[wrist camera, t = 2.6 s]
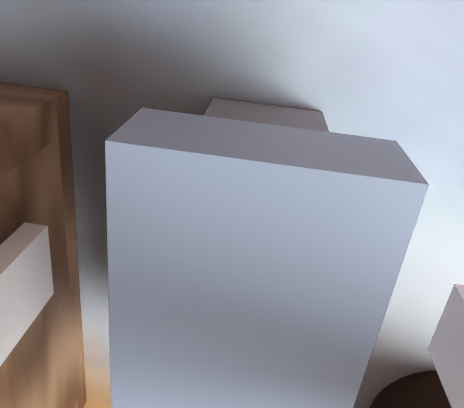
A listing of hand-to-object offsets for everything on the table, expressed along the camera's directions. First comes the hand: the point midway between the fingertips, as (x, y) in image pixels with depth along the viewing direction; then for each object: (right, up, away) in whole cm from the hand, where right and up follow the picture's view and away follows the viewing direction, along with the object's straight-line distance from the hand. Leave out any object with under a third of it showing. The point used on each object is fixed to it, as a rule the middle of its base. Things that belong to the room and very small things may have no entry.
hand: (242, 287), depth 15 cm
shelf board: (0, -1, -1) cm, 2 cm away
